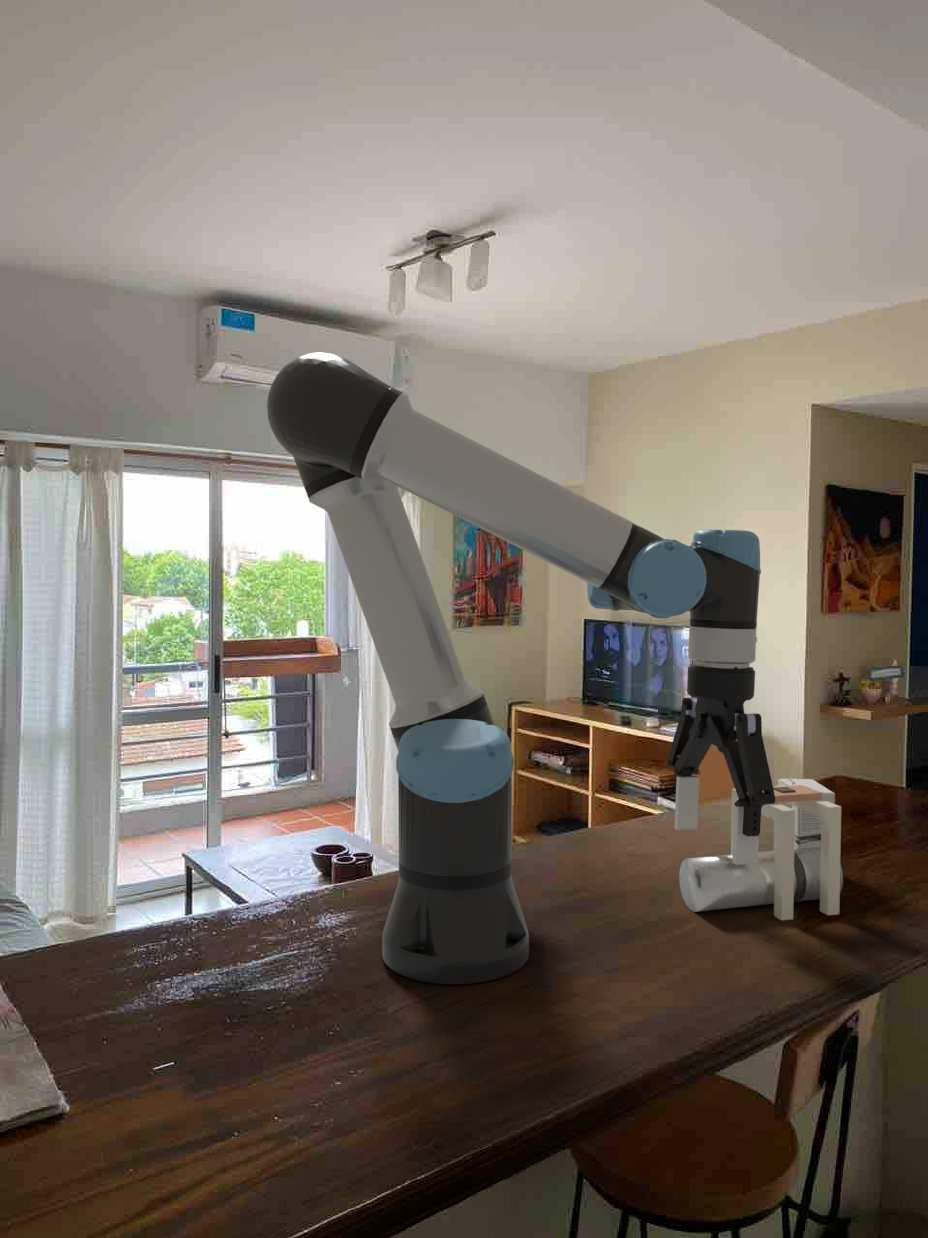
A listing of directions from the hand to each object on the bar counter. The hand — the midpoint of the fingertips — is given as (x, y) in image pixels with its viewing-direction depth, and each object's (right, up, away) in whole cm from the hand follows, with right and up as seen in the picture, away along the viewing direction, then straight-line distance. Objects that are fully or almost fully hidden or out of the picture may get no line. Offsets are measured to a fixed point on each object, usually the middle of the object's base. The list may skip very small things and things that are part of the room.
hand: (713, 845), depth 110 cm
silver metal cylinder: (+6, -7, +2) cm, 9 cm away
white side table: (+9, -7, +3) cm, 12 cm away
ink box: (+15, -7, +12) cm, 21 cm away
